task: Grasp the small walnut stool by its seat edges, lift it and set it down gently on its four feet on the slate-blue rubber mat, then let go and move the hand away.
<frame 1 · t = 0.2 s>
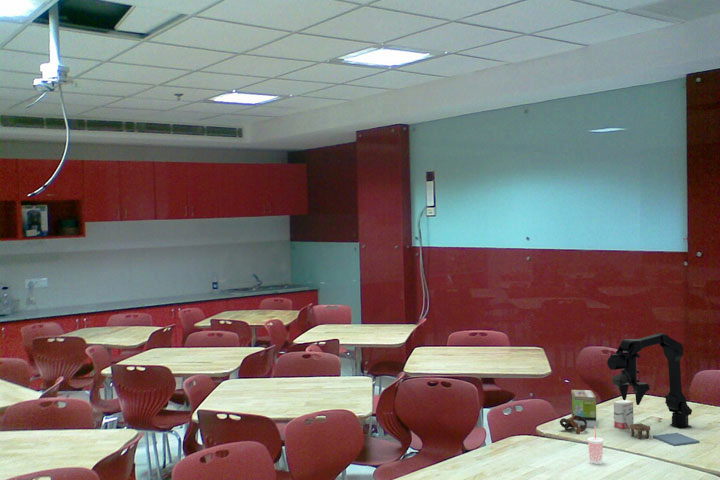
hand: (631, 402, 297), 14 cm above the table, fingers open, 9 cm apart
rubber mat: (675, 440, 286), on the table
beverage cup: (596, 462, 261), on the table
ink box: (623, 427, 308), on the table
tea box: (583, 424, 315), on the table
walnut stool: (640, 437, 292), on the table
toy cannon: (573, 431, 303), on the table
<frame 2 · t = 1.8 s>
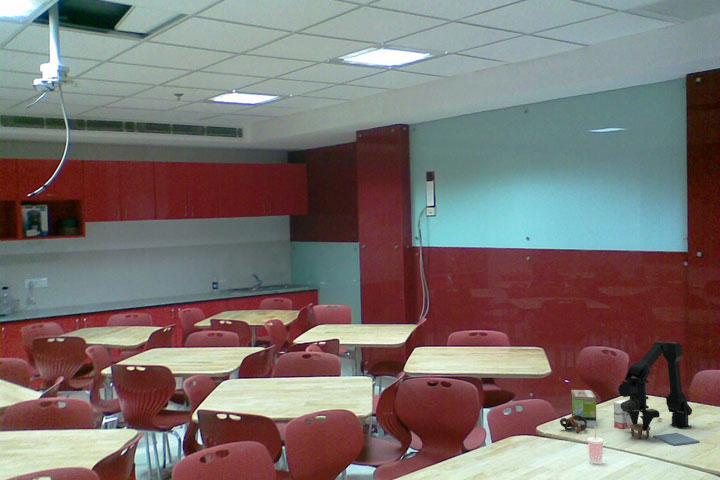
hand: (640, 429, 292), 4 cm above the table, fingers closed on walnut stool, 6 cm apart
walnut stool: (640, 437, 292), on the table, touching gripper
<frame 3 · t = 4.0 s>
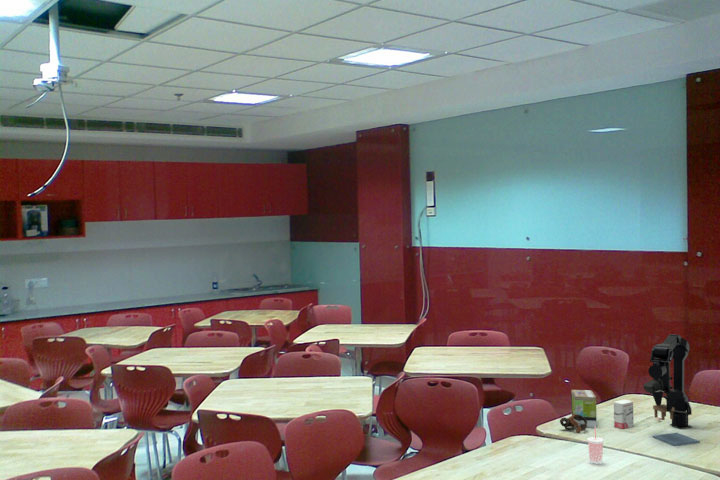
hand: (663, 409, 288), 13 cm above the table, fingers closed on walnut stool, 6 cm apart
walnut stool: (663, 417, 288), point 9 cm above the table, touching gripper
when the fingers open (5 cm above the table, at t = 6.2 s): walnut stool stays where it is, resting on rubber mat.
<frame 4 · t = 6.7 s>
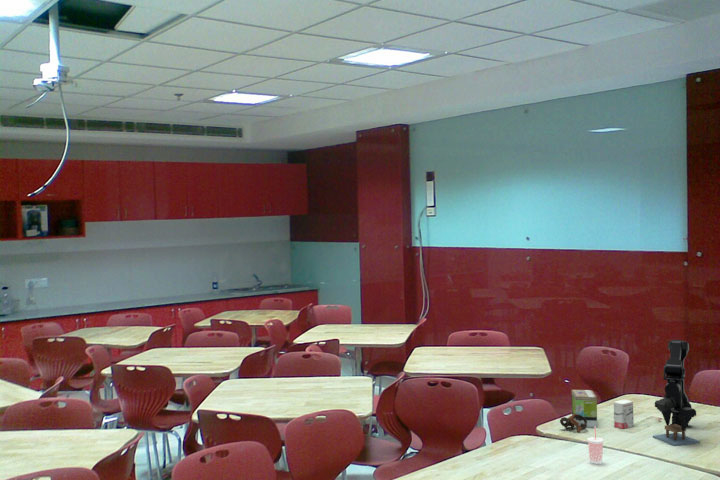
hand: (675, 427, 286), 5 cm above the table, fingers open, 9 cm apart
walnut stool: (675, 438, 286), point 1 cm above the table, touching rubber mat
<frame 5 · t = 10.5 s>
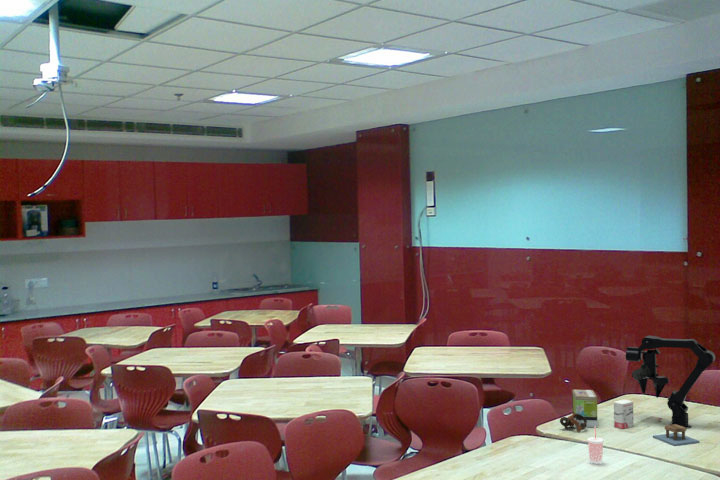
hand: (650, 395, 314), 13 cm above the table, fingers open, 9 cm apart
at the end: walnut stool inside the target area on the rubber mat (0.0 cm from its centre), point 0.8 cm above the rubber mat's base; walnut stool tilted 0°; the gripper is holding nothing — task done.
